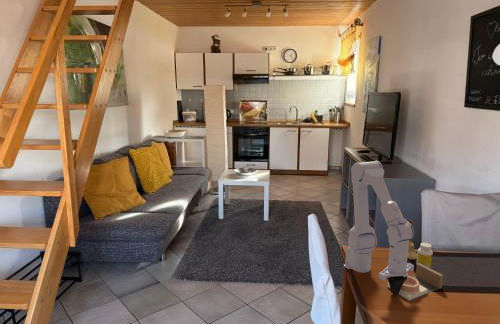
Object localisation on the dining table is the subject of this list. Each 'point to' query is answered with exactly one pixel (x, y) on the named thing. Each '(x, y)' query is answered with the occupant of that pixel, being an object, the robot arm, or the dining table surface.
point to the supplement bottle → (424, 255)
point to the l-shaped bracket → (427, 278)
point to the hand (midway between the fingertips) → (394, 293)
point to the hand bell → (411, 247)
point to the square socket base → (411, 288)
